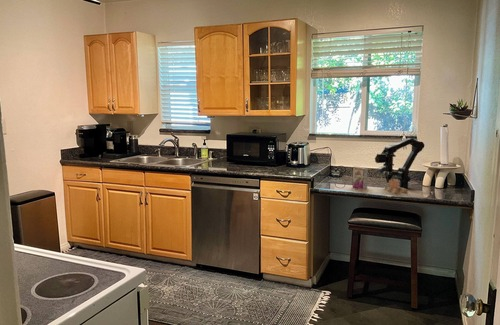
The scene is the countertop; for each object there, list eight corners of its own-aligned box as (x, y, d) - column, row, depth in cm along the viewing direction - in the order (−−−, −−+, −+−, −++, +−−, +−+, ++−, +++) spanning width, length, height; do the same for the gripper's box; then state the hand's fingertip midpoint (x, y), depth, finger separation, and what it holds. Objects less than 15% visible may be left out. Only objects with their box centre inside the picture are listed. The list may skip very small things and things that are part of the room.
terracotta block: (388, 190, 301) (388, 179, 300) (394, 189, 302) (394, 179, 301) (392, 191, 296) (392, 181, 295) (398, 191, 297) (398, 180, 296)
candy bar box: (352, 187, 315) (352, 166, 313) (356, 186, 318) (357, 166, 315) (362, 189, 306) (363, 168, 303) (367, 189, 308) (368, 168, 306)
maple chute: (384, 190, 303) (385, 185, 302) (394, 190, 305) (394, 185, 304) (397, 195, 287) (397, 190, 287) (407, 194, 289) (407, 189, 289)
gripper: (372, 161, 310) (371, 180, 313) (386, 164, 292) (385, 185, 295) (385, 160, 313) (384, 180, 315) (399, 164, 295) (398, 184, 297)
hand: (387, 182), depth 306 cm, fingers closed
